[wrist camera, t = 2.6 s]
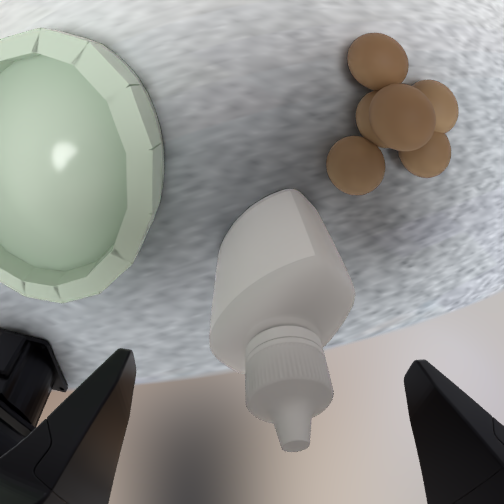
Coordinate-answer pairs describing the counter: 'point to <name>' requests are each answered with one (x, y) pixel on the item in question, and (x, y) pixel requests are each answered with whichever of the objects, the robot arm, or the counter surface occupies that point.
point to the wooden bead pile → (391, 119)
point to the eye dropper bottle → (280, 311)
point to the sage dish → (73, 165)
